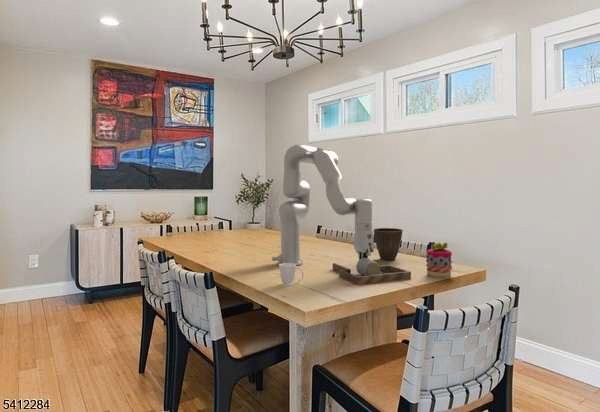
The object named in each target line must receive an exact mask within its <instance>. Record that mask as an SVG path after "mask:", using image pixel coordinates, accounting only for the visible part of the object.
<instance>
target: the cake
mask: <svg viewBox="0 0 600 412" xmlns="http://www.w3.org/2000/svg"><path fill="white" fill-rule="evenodd" d="M432 245H433V246H432V247H433V248H429V249H427V250H426V259H425V260H426V261H425V262H426V264H425V266H426V267H427V268H426V276H428V277H429V278H435V279H448V278H451V276H452V275H451V274H452V269H453V266H452V255H453V253H452V251H451V250H449V249H447V248H448V242H444V243H440V242H435V243H433V244H432Z"/></svg>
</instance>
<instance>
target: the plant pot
mask: <svg viewBox="0 0 600 412" xmlns="http://www.w3.org/2000/svg"><path fill="white" fill-rule="evenodd" d="M373 237H374V241H375V245H376V249H377V252H378V255H379V258H380V260H381V261H384V262H385V261H386V262H393V261H395V260H396V258H397V256H398V253H399V250H400V246H401V243H402V237H403V229H402V228H395V227H393V228H392V227H391V228H389V227H385V228H384V227H382V228H374V229H373Z"/></svg>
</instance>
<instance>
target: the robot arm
mask: <svg viewBox="0 0 600 412" xmlns="http://www.w3.org/2000/svg"><path fill="white" fill-rule="evenodd" d="M283 156H284V157H283V183H282V193H283V195H284V197H285V198H287V199H292V200H288V201H285V202H283V203H282V202H281V204H280V206H279V208H278V216H279V221H280V254H279V255H277V256H272V257H271V260H272V261H273V262H274V261H276V262H277V264H278V265H279V264H282V263H294V264H296V266H301V265H303V263H304V261H303V259H302V260H301V252H300V251H301V238H300V237H301V235H300V233H301V231H300V229H301V228H300V223H299V220H300V219H304V218H306V217H307V216H308V213H309V210H310V194H311V188H310V184H309V183H308V181H306V180H304V179H302V168H301V165H300V163H304V164H305V163H306V164H313V165H314V166H315V167H316V169H317V171H318V173H319V175H320V177H321V178H322V180H323V182H324V184H325V194H326V197H327V198H326V199H327V201H328V202H329V204H330V206H331V208H332V209H333V211H334V212H335V213H336V214H338V215H339V216H349V215H354V234H353V235H354V236H353V248H354V250H355V253H357V255H358V261H359V260H360V259H361V258H368V259H369V257H371V255H372V253H373V252H375V242H374V241H375V237H374V230H373V203H372V199H370V198H353V197H345V195H343V192H342V191H341V187H340V181H341V180H342V177H343V176H342V174H341V172H340V170H339V168H338V167H337V165H338V163H339V156H338V155H337V154H336V153H335V152H334V151H332V150H327V149H324V148H321V147H316V146H312V145H307V144H294V145H292V146H290V147H289V148H288V149H286V151H285V153H284V155H283Z"/></svg>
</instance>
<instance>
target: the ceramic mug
mask: <svg viewBox="0 0 600 412" xmlns="http://www.w3.org/2000/svg"><path fill="white" fill-rule="evenodd" d="M379 265H380V264H378V262H377V261H374V260H372V259H370V258H369V257H368V258H361V259H360V260H359V259H358V261H357V262H356V271H357V273H358V275H362V276H370V275H379V274H384V273H383V272H381V271H380V267H379Z"/></svg>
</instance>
